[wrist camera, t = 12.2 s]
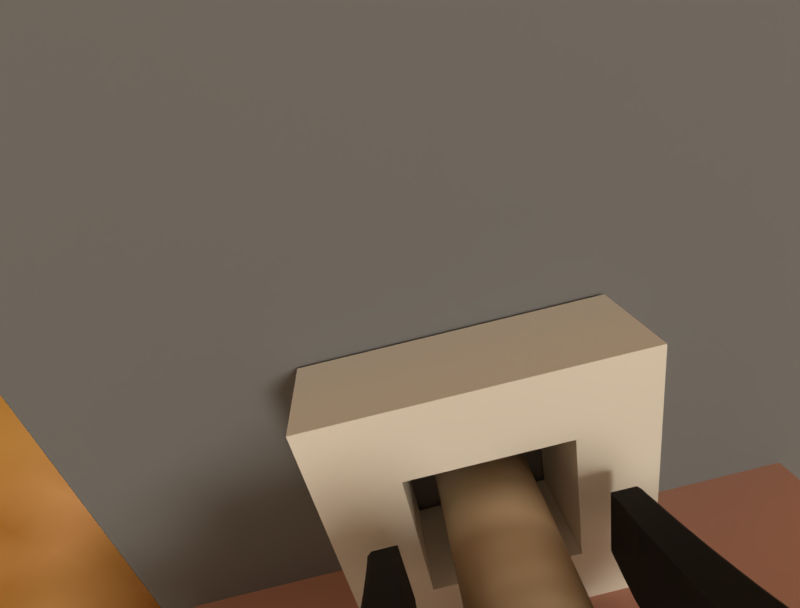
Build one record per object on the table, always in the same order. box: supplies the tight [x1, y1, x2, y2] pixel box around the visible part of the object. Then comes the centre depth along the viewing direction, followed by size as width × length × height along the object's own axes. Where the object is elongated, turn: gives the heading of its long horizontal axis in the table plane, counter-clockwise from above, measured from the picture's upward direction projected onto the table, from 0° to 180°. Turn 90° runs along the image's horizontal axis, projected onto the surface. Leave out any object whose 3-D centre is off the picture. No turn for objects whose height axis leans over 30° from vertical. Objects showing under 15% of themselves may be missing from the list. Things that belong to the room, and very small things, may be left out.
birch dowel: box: [435, 453, 594, 608], centre depth 10 cm, size 2×2×7 cm
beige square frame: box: [286, 294, 667, 608], centre depth 12 cm, size 8×8×2 cm
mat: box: [0, 0, 800, 608], centre depth 12 cm, size 24×22×1 cm
